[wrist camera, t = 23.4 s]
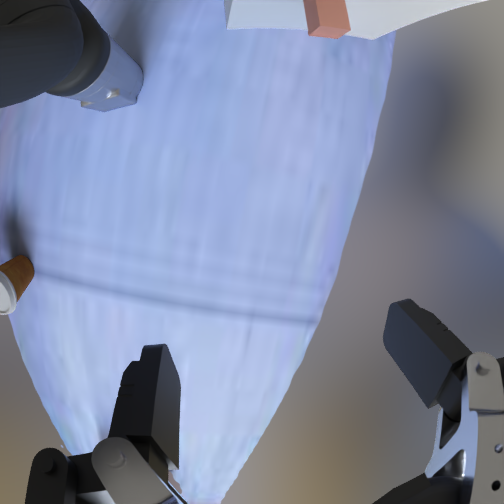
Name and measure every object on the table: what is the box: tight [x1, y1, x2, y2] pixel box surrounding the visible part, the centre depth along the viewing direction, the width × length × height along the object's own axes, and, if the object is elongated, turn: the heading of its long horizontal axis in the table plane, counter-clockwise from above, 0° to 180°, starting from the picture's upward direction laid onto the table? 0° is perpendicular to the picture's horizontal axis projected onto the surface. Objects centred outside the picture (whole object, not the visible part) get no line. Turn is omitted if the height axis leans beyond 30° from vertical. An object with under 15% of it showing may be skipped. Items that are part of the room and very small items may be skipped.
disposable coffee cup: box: [0, 255, 34, 315], centre depth 40 cm, size 10×10×12 cm
